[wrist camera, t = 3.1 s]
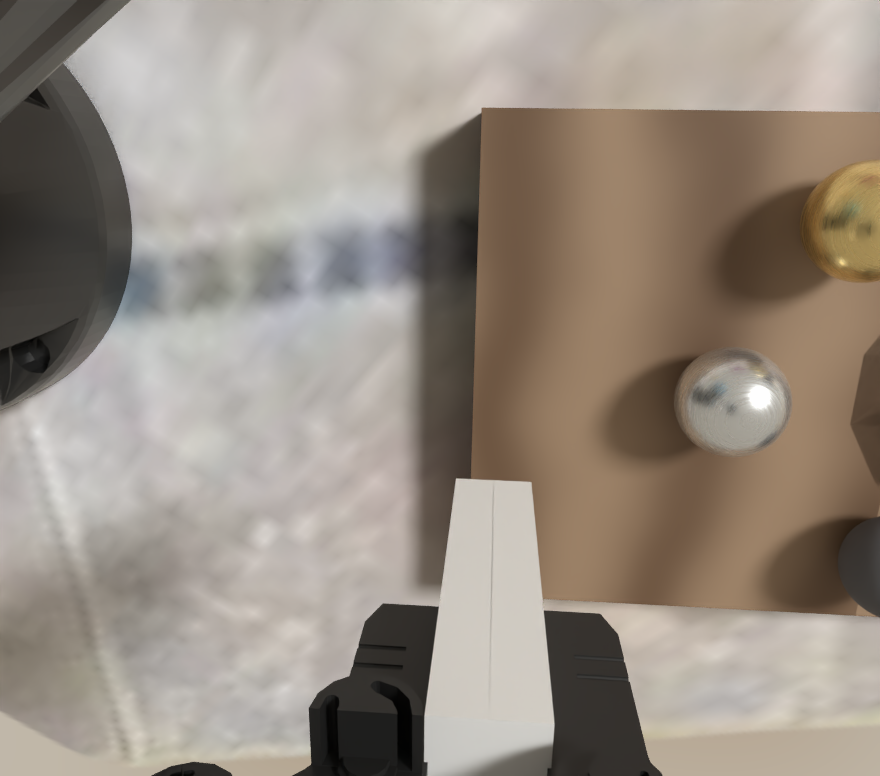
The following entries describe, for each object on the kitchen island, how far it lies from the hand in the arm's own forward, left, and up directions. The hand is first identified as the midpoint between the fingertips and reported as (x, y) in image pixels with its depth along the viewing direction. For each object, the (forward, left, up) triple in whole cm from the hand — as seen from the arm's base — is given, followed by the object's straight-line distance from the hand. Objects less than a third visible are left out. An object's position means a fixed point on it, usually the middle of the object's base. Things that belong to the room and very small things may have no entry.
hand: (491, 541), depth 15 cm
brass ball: (+10, +6, -9) cm, 15 cm away
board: (+10, 0, -13) cm, 17 cm away
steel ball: (+7, 0, -9) cm, 12 cm away
